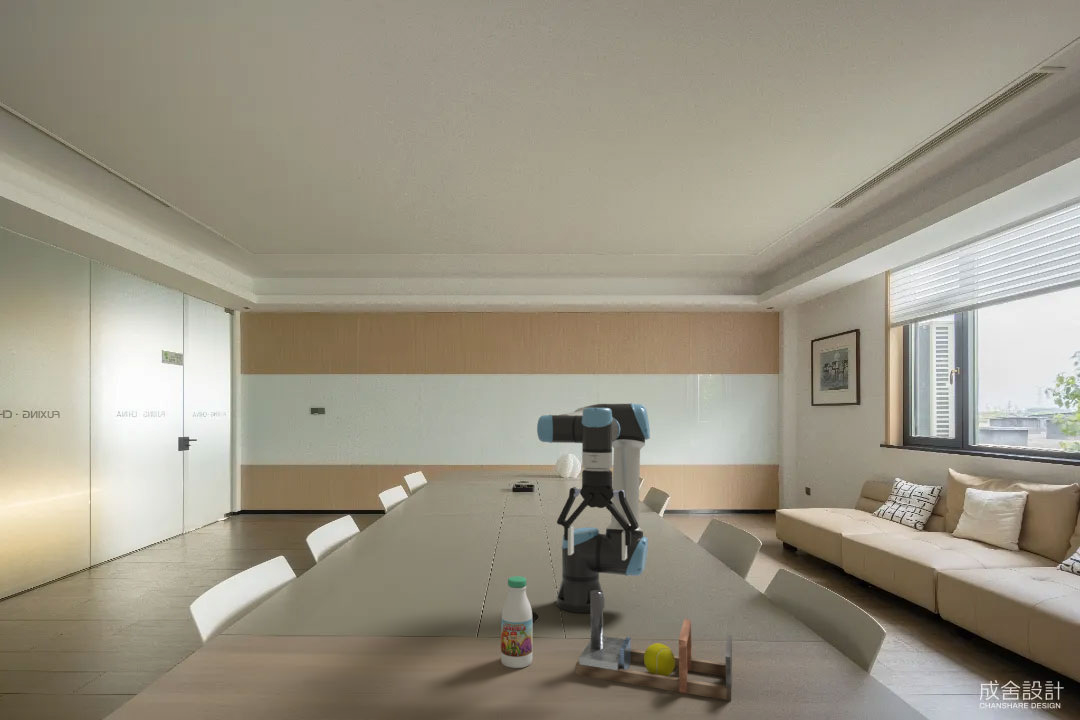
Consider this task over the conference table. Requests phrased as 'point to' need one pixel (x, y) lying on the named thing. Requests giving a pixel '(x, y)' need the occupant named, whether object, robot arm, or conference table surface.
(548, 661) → the conference table surface
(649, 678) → the lane
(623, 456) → the robot arm
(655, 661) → the tennis ball
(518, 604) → the milk bottle
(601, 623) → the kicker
